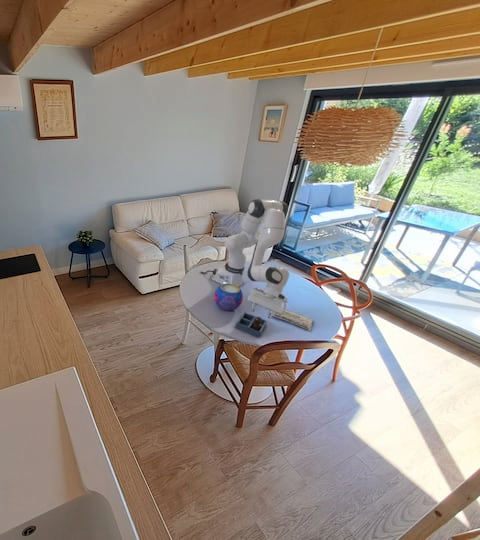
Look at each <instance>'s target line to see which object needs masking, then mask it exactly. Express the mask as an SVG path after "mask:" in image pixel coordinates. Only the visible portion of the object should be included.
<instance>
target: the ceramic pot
mask: <svg viewBox="0 0 480 540" xmlns="http://www.w3.org/2000/svg"><path fill="white" fill-rule="evenodd" d="M213 297H214V298H213V299H214V302H215V304H216V306H217V307H219V308H220V309H222V310H225V311H234V310H236V309H238V308H239V307H240V306H241V305H242V303H243V301H244V294H243V291H242V289H241V288H240V286H239V287H238V286H236V285H234V284H231V283H224V284H219V285H218V286H217V287H216V289H215V291H214V292H213Z"/></svg>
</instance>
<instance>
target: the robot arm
mask: <svg viewBox="0 0 480 540" xmlns="http://www.w3.org/2000/svg"><path fill="white" fill-rule="evenodd" d="M288 211H289V207H288V204H287V202H285V201H281V200H275V199H261V198H257V199H253V200H251V201H250V202H249V204H248V208H247V211H246V213H245V215H244V217H243V219H242V221H241V223H240V228H241V229H242V230H241V232H239V233H236V234H232V235H230V236H228V237H226V238H225V239H224V246H225V249H226V250H227V251H228V253H229V258H228V260H227V261H226V263H225V264H224V266H223V267H220V268H214V269H213V270H206V271H205V272H204V271H200V273H201V274H204V275H205V274H207V273H212V275H211V278H210V279H211V280H212V281H214V282H216V283H218V284H219V285H221V284H224V283H231V284H234V285H236V286H238V287H239V288H240V287H241V286H243V285H244V284H243V283H244V282H243V275H244V272H245V267H246V266H245V265H246V260H247V256H246V255H245V253H244V252H243V251H244V249H248V248H251V247H253V246H254V249H253V253H252V257H251V261H250V263H249V266H248V268H247V271H246V272H247V277H248V279H249V280H250V281H252V282H259V283H266V285H265V287H264V289H260V288H259V287H253V288H252V289H251V291H250V294H249V295H248V297H247V301H248V302H249V303H251V306H252V307H251V311H252V312H255V311H256V308H255V306H259V307H261V308H264V309H266V310H268V311H270V312H271V311H273V314H272V315H271V314H268V315H267V318H268V319H270V320H271V319H272V317H274V315H275V314H276V313H278V314H280V315H283V314H284V312H285V310H287V303H288V298H287V296H286V295H284V294H282V293H283V289H284V288H285V287H286V286H287V283H288V281H289V279H290V271H289V269H287V268H285V267H283V266H272V265H263V261H264V257H265V253H266V251H267V250H268V249H269V248H271V247H273V246H275V245H278V244H279V243H281V241H282V240H283V239H284V235H285V229H286V227H285V226H286V216H287V214H288ZM262 223H263V225H262ZM261 225H262V229H261V234H260V236H258V230H259V228H260V227H261Z"/></svg>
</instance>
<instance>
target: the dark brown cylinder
mask: <svg viewBox="0 0 480 540" xmlns="http://www.w3.org/2000/svg"><path fill="white" fill-rule="evenodd" d="M261 319H262V317H260V316H256V318H255V320H254V322H253V326H252V329H255V330H257V331H259V329H260V326H261V323H262V322H261Z"/></svg>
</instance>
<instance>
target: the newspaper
mask: <svg viewBox="0 0 480 540" xmlns="http://www.w3.org/2000/svg"><path fill="white" fill-rule="evenodd" d="M269 314H270V315H272V314H273V311H271V310H270V312H269ZM273 317H274V318H277V319H280V320H282V321H283V320H284V321H286V322H288V323H291V324H293V325H296V326H298V327H301V328H302V329H305V330H307V331H311V329H312V326H313V321H314V319H312V318H310V317H307V316H304V315H301V314H299V313H295V312H294V311H290V310H287V309H286V310H285V312H284V314H283V315H280V314H278V313H276V314H275V315H274V316H273Z"/></svg>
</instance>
